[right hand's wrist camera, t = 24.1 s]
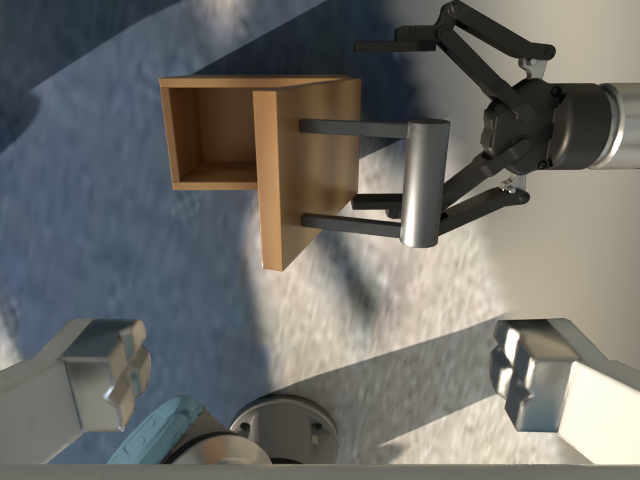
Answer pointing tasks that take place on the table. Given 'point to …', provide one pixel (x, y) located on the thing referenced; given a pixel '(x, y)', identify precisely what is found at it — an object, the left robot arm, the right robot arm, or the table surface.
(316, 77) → the chest
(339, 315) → the table surface
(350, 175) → the lid
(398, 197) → the left robot arm
